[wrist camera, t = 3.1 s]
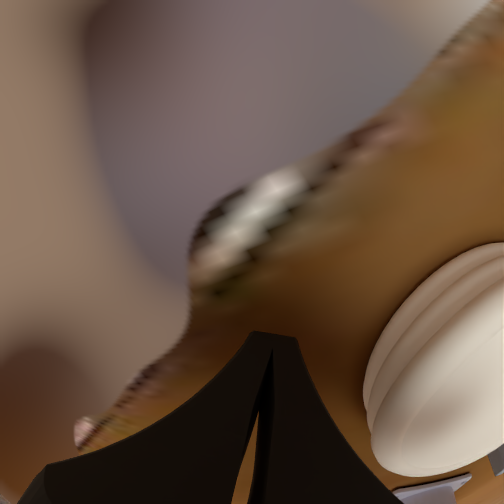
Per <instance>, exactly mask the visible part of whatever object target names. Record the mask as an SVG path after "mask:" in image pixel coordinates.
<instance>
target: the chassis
mask: <svg viewBox="0 0 504 504" xmlns="http://www.w3.org/2000/svg"><path fill="white" fill-rule="evenodd" d="M487 455H488V458H489V460H490V463H491V466H492V469H493V471H494V474H495V476H498V475H500V474H502V473H504V444H502V445H501V446H499V447H498V448H497V449H495V450H494V451H492V452H490V453H489V454H487Z"/></svg>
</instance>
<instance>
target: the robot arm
mask: <svg viewBox="0 0 504 504" xmlns="http://www.w3.org/2000/svg"><path fill="white" fill-rule="evenodd" d="M258 411H259V417H258V429H257V441H256V452H255V463H254V472H253V479H252V484H251V489H250V493H249V498H248V502H247V504H456V500H455V496H454V492H455V491H456V490H457V489H458V488H460V487H461V486H462V485H463V484H465V483H466V482H467V481H468V480H469V479H471V477H472V475H471V474H466V475H463V476H459V477H456V478H452V479H448V480H444V481H439V482H435V483H430V484H425V485H420V486H414V487H408V488H402V489H398V490H395V491H394V492H391V491H390V490H389V489H388V488H386V487H385V486H384V484H383V483H382V482H381V481H380V480H379V479H378V478H377V477H376V476H375V475H374V474H373V472H372V471H371V470H370V469H369V468H368V467H367V466H366V465H365V464H364V463H363V461H362V460H361V459H360V458H359V457H358V455H357V454H356V453H355V451H354V450H353V449H352V447H351V446H350V445H349V443H348V442H347V441H346V439H345V438H344V436H343V435H342V433H341V432H340V430H339V429H338V427H337V426H336V424H335V423H334V421H333V419H332V418H331V416H330V414H329V413H328V411H327V409H326V407H325V405H324V404H323V402H322V400H321V398H320V396H319V394H318V392H317V390H316V388H315V386H314V383H313V381H312V379H311V377H310V375H309V372H308V370H307V368H306V365H305V362H304V360H303V357H302V354H301V351H300V348H299V345H298V341H297V340H296V338H295V337H289V336H283V335H277V334H271V333H265V332H259V331H253V332H251V333H250V334H249V336H248V337H247V339H246V341H245V342H244V344H243V345H242V346H241V348H240V349H239V350H238V352H237V353H236V354H235V355H234V357H233V358H232V359H231V360H230V361H229V362H228V363H227V364H226V365H225V367H224V368H223V369H222V370H221V371H220V372H219V373H218V374H217V375H216V376H215V377H214V378H213V379H212V380H211V381H210V382H208V383H207V384H206V385H205V386H204V387H203V388H202V389H201V390H200V391H199V392H197V393H196V394H195V395H194V396H193V397H191V398H190V399H189V400H188V401H186V402H185V403H184V404H182V405H181V406H179V407H178V408H177V409H175V410H174V411H173V412H171V413H170V414H168V415H166V416H165V417H163V418H162V419H160V420H158V421H157V422H155V423H154V424H152V425H150V426H149V427H147V428H145V429H143V430H141V431H139V432H138V433H136V434H134V435H131V436H129V437H127V438H125V439H123V440H120V441H118V442H116V443H114V444H111V445H109V446H107V447H104V448H102V449H99V450H97V451H94V452H91V453H88V454H84V455H81V456H77V457H74V458H70V459H67V460H63V461H59V462H55V463H51V464H47V465H46V466H45V467H44V469H43V470H42V471H41V472H40V473H39V474H38V475H37V476H36V477H35V478H34V479H33V481H32V482H31V484H30V485H29V487H28V488H27V490H26V491H25V492H24V494H23V496H22V497H21V498H20V500H19V501H18V503H17V504H231V501H232V497H233V493H234V489H235V485H236V481H237V477H238V473H239V470H240V466H241V463H242V461H243V458H244V455H245V452H246V449H247V446H248V443H249V440H250V437H251V434H252V430H253V427H254V424H255V421H256V418H257V415H258ZM0 504H11V503H10V502H9V501H8V500H6V499H5V498H4V497H3V496H2V495H1V494H0Z"/></svg>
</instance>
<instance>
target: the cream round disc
mask: <svg viewBox="0 0 504 504" xmlns="http://www.w3.org/2000/svg"><path fill="white" fill-rule="evenodd" d="M363 400H364V406H365V408H366V411H367V422H368V427H369V430H370V432H371V447H372V451H373V453H374V455H375V457H376V459H377V461H378V462H379V463H380V464H381V466H382V467H384V468H385V469H387V470H388V471H391V472H394V473H397V474H400V475H403V476H410V477H423V476H432V475H437V474H442V473H445V472H449V471H452V470H455V469H458V468H461V467H463V466H465V465H468V464H470V463H472V462H474V461H476V460H478V459H480V458H482V457H484V456H485V455H487V454H489V453H490V452H492V451H494V450H495V449H497V448H498V447H499V446H501V445H502V444H504V243H503V242H502V243H490V244H486V245H483V246H479V247H476V248H474V249H471V250H469V251H467V252H465V253H462V254H461V255H459V256H457V257H456V258H454V259H452V260H451V261H449V262H447V263H446V264H445V265H443V266H442V267H441V268H439V269H438V270H437V271H435V272H434V273H433V274H432V275H430V276H429V277H428V278H427V279H426V280H425V281H424V282H423V283H422V284H420V285H419V286H418V287H417V288H416V290H415V291H414V292H413V293H412V294H411V295H410V296H409V297H408V298H407V299H406V300H405V301H404V303H403V304H402V305H401V306H400V308H399V309H398V310H397V311H396V312H395V314H394V315H393V317H392V318H391V320H390V321H389V322H388V324H387V325H386V327H385V328H384V330H383V332H382V334H381V335H380V337H379V339H378V341H377V343H376V345H375V347H374V349H373V352H372V354H371V356H370V359H369V362H368V366H367V369H366V374H365V379H364V385H363Z"/></svg>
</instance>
